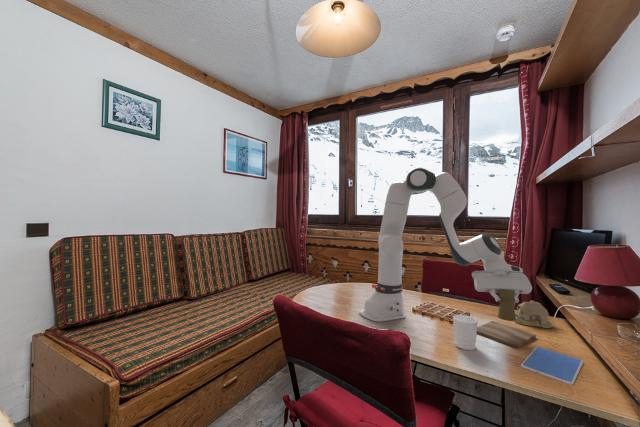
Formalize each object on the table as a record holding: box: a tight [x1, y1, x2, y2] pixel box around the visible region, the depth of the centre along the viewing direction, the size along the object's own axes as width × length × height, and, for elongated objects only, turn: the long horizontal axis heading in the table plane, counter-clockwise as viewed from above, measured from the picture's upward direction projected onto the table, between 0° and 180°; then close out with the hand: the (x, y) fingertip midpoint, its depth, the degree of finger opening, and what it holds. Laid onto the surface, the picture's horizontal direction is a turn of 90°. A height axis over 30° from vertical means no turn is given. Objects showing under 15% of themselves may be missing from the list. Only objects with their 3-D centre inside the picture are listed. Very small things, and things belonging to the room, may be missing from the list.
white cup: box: [452, 314, 479, 351], centre depth 102 cm, size 8×8×10 cm
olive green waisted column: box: [497, 290, 516, 322], centre depth 111 cm, size 6×6×11 cm
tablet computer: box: [520, 346, 584, 386], centre depth 90 cm, size 19×13×1 cm, turn 130°
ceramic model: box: [514, 300, 554, 329], centre depth 124 cm, size 14×11×10 cm
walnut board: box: [477, 320, 537, 349], centre depth 111 cm, size 16×16×1 cm
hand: (507, 301), depth 110 cm, fingers closed on olive green waisted column, 5 cm apart
